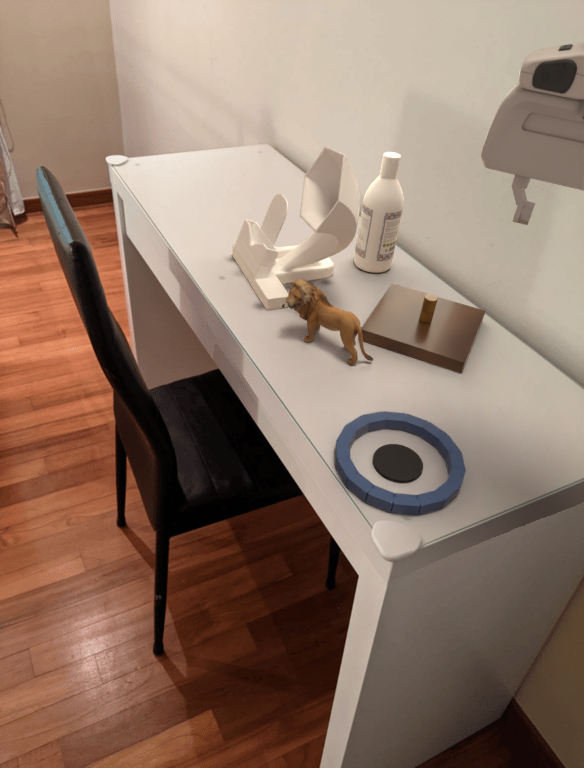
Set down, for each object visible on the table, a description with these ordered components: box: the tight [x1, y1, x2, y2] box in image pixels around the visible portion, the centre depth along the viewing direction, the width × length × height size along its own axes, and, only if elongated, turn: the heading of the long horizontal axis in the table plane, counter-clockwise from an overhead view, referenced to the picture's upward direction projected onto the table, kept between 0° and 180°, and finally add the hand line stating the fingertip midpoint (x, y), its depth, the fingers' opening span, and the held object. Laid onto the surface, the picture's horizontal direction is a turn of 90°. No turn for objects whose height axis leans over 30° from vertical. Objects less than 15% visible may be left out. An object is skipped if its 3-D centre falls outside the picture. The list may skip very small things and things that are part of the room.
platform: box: [357, 282, 487, 374], centre depth 94 cm, size 16×16×6 cm
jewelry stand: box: [231, 146, 361, 311], centre depth 96 cm, size 25×16×25 cm, turn 22°
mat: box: [372, 443, 424, 484], centre depth 73 cm, size 6×6×1 cm
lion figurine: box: [285, 279, 374, 366], centre depth 88 cm, size 15×5×9 cm, turn 60°
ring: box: [334, 410, 466, 516], centre depth 73 cm, size 15×15×2 cm
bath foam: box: [353, 151, 405, 274], centre depth 105 cm, size 7×7×20 cm
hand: (570, 234), depth 58 cm, fingers open, 8 cm apart
